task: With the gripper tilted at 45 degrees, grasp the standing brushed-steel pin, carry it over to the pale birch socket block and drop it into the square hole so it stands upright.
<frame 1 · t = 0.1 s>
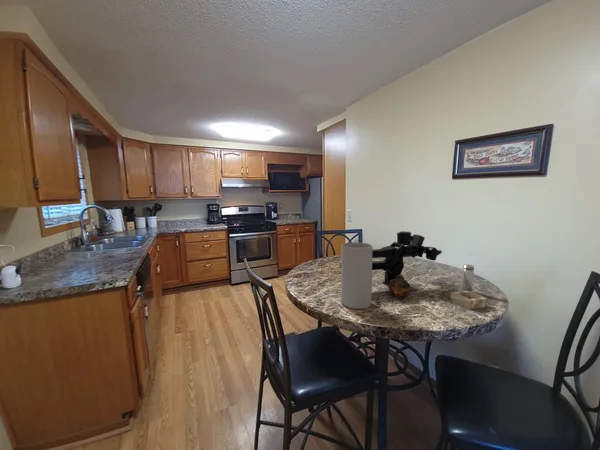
hand: (434, 249, 128), 17 cm above the table, tool horizontal, fingers open, 9 cm apart
socket block: (468, 303, 101), on the table
cylinder vase: (355, 303, 102), on the table
decorative turtle: (398, 295, 110), on the table
steel pin: (467, 291, 113), on the table
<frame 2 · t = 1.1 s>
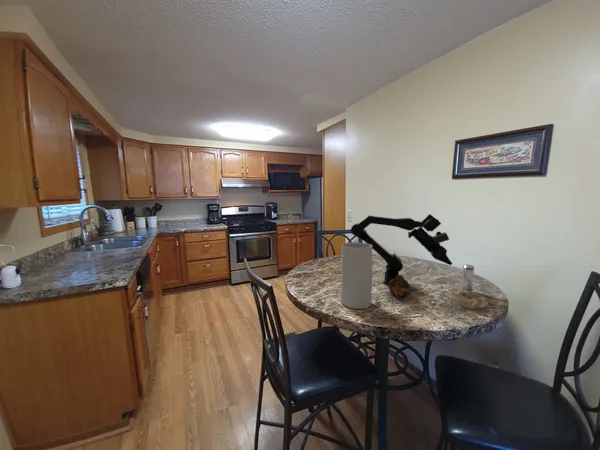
hand: (448, 262, 115), 14 cm above the table, tool tilted 45°, fingers open, 9 cm apart
nothing on the table moved.
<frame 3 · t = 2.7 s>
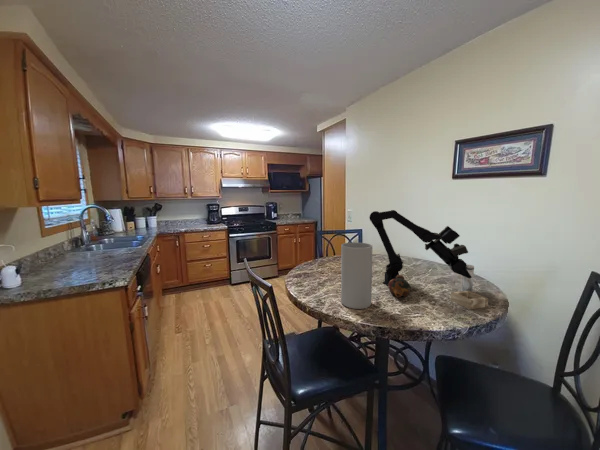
hand: (467, 274, 112), 8 cm above the table, tool tilted 45°, fingers open, 9 cm apart
nothing on the table moved.
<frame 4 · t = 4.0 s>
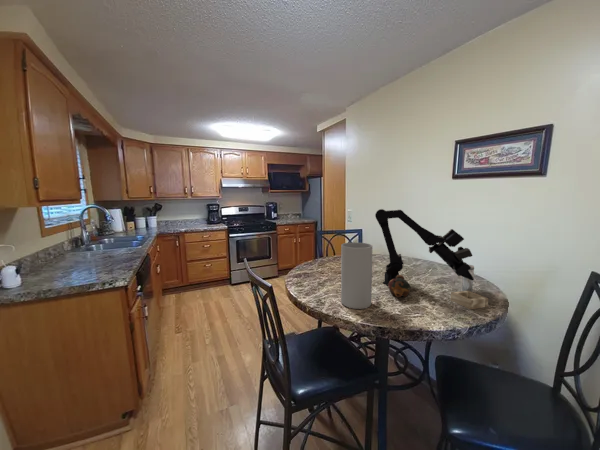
hand: (471, 278, 112), 7 cm above the table, tool tilted 45°, fingers closed on steel pin, 4 cm apart
steel pin: (467, 291, 113), on the table, touching gripper
everything else where it was.
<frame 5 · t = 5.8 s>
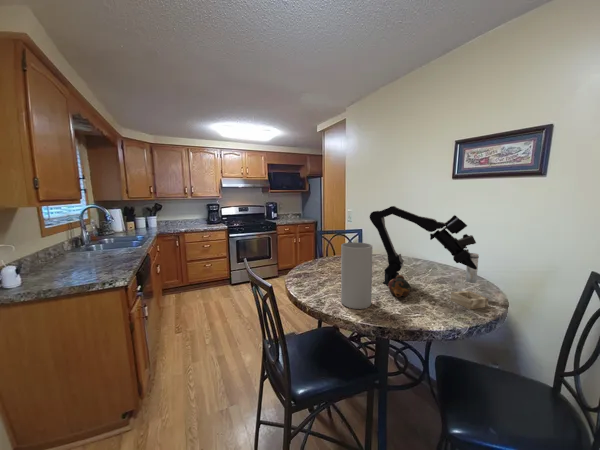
hand: (475, 267, 105), 14 cm above the table, tool tilted 45°, fingers closed on steel pin, 4 cm apart
steel pin: (471, 281, 107), point 7 cm above the table, touching gripper
everything else where it was.
when the fingers open (8 cm above the table, at t = 8.0 s): steel pin drops 1 cm, resting in socket block.
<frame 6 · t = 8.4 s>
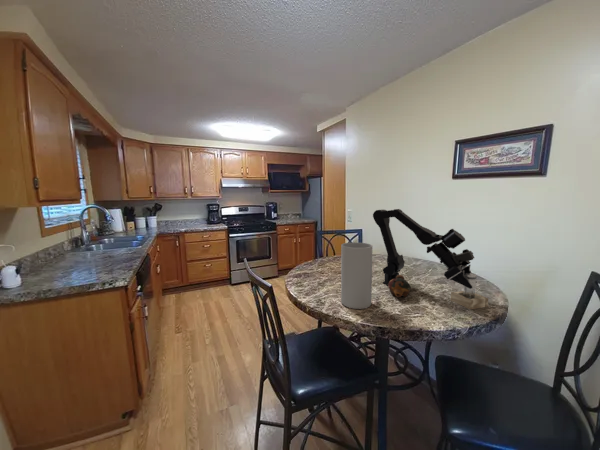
hand: (473, 285, 99), 8 cm above the table, tool tilted 45°, fingers open, 8 cm apart
steel pin: (468, 303, 100), resting in socket block
everything else where it was.
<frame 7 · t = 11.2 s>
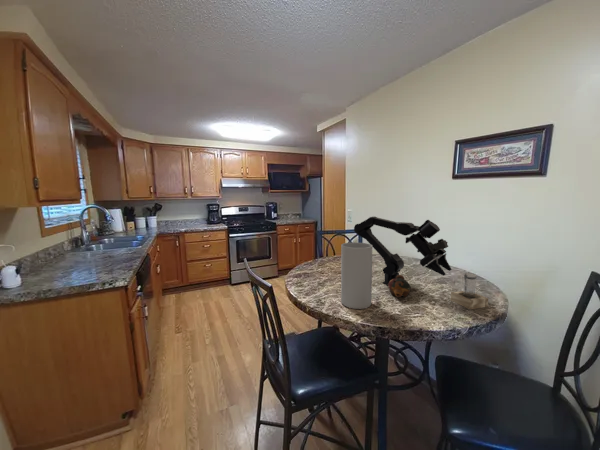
hand: (447, 272, 105), 12 cm above the table, tool tilted 45°, fingers open, 9 cm apart
nothing on the table moved.
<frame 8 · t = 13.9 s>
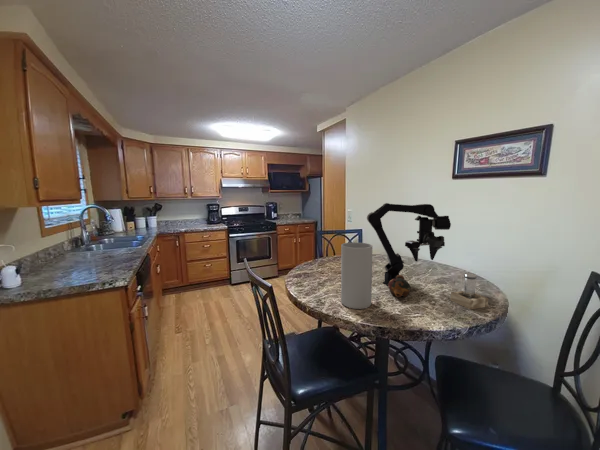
hand: (424, 260, 120), 13 cm above the table, tool pointing down, fingers open, 9 cm apart
nothing on the table moved.
at the end: steel pin 0.0 cm off-centre on the socket block, point 0.0 cm above the socket block's base; steel pin tilted 0°; the gripper is holding nothing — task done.
